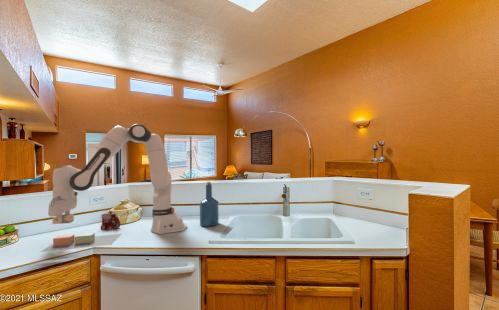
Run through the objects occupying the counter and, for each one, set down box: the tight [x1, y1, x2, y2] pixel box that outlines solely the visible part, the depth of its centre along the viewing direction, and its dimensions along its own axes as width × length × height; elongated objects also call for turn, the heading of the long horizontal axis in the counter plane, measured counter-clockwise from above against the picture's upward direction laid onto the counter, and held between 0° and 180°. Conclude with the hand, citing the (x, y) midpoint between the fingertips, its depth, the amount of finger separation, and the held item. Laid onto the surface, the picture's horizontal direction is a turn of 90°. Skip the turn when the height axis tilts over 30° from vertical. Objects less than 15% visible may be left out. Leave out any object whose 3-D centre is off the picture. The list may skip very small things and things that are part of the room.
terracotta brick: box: [52, 234, 75, 246], centre depth 122 cm, size 8×4×4 cm, turn 104°
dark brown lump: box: [100, 213, 121, 231], centre depth 149 cm, size 7×12×10 cm, turn 84°
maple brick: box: [51, 213, 75, 225], centre depth 122 cm, size 8×4×4 cm, turn 104°
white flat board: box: [40, 233, 122, 252], centre depth 124 cm, size 32×17×1 cm, turn 104°
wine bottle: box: [199, 181, 220, 228], centre depth 157 cm, size 14×13×30 cm
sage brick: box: [74, 232, 96, 244], centre depth 124 cm, size 8×4×4 cm, turn 104°
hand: (63, 220), depth 122 cm, fingers closed on maple brick, 4 cm apart
